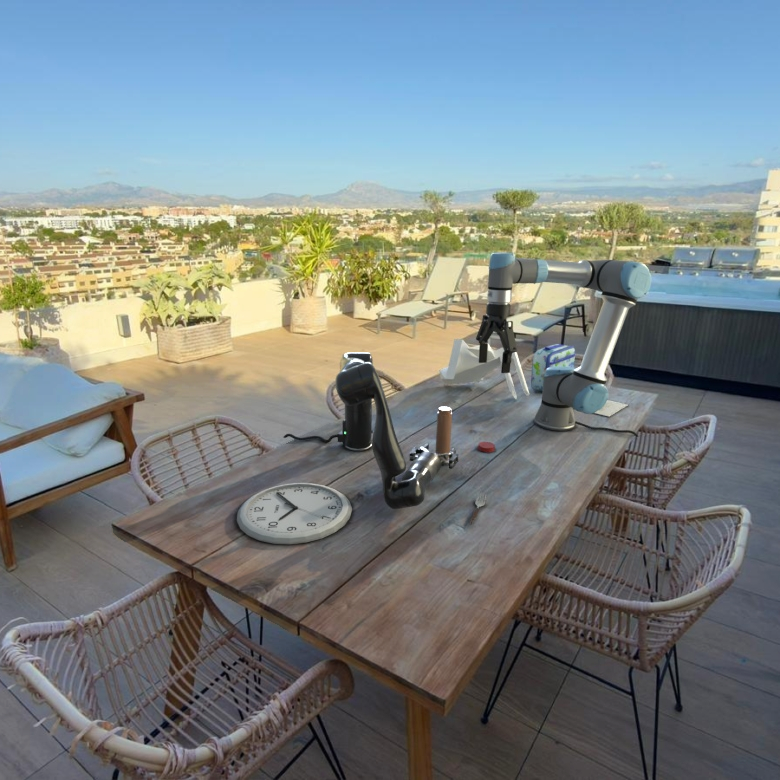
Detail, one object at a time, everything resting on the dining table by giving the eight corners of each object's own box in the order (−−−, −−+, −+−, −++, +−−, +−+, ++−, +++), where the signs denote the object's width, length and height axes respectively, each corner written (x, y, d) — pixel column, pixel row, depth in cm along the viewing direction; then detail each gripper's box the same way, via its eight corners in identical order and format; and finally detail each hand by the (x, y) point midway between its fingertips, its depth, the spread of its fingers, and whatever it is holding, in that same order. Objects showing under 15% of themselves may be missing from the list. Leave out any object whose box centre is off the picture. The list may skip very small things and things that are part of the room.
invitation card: (608, 416, 214) (573, 407, 224) (608, 416, 214) (573, 408, 224) (628, 404, 229) (594, 396, 238) (628, 405, 229) (594, 397, 238)
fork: (465, 526, 134) (465, 519, 133) (477, 497, 148) (477, 491, 147) (475, 528, 133) (476, 521, 132) (486, 499, 147) (487, 492, 147)
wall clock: (352, 536, 126) (224, 540, 123) (352, 542, 126) (225, 546, 123) (351, 478, 154) (247, 481, 151) (351, 483, 155) (247, 486, 152)
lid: (479, 445, 184) (479, 440, 184) (495, 447, 183) (495, 442, 182) (477, 451, 179) (477, 446, 179) (493, 453, 178) (494, 449, 177)
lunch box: (547, 396, 238) (552, 351, 232) (526, 391, 246) (531, 347, 239) (574, 385, 256) (579, 343, 250) (554, 380, 263) (559, 340, 257)
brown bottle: (445, 466, 168) (448, 412, 162) (432, 462, 170) (435, 409, 164) (451, 460, 171) (454, 407, 166) (438, 457, 174) (441, 405, 168)
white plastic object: (461, 429, 252) (437, 405, 227) (444, 352, 274) (420, 323, 250) (535, 404, 240) (518, 377, 215) (510, 326, 262) (492, 293, 237)
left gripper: (448, 461, 148) (463, 441, 162) (401, 452, 153) (419, 433, 167) (447, 485, 150) (461, 463, 165) (400, 476, 155) (418, 455, 170)
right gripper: (468, 298, 176) (464, 359, 182) (511, 309, 154) (505, 378, 160) (487, 297, 178) (483, 358, 185) (532, 308, 156) (526, 376, 163)
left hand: (440, 448), depth 166 cm, fingers open, 8 cm apart
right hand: (493, 367), depth 172 cm, fingers open, 13 cm apart
